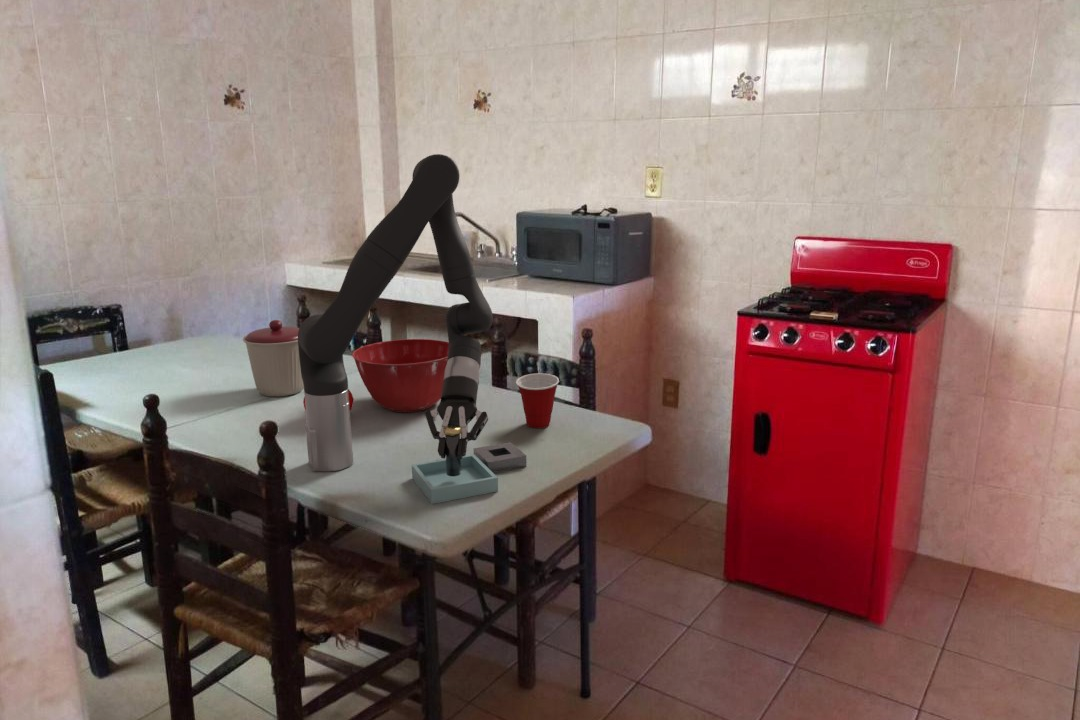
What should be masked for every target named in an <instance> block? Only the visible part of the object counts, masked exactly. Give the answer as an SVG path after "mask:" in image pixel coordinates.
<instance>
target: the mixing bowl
mask: <svg viewBox="0 0 1080 720" xmlns="http://www.w3.org/2000/svg"><path fill="white" fill-rule="evenodd" d="M448 352H449V341H445V340H439V339H428V338H426V339H425V338H408V339H407V338H406V339H393V340H385V341H379V342H375V343H369V344H366V345H363V346H362V347H359V348H357V349H355V350H354V351H353V352H352V355H351V356H352V358H353V359H354V362H355V366H356V367H357V371H358V373H359V376H360V379H361V380H362V383H363V384H364V386H365V388H366V389H367V391H368V393H369V395H370V396H371V398H372V399H373V400H374V402H376V403H377V404H378V405H379V406H381V407H383V408H385V409H386V410H389V411H392V412H396V413H397V412H398V413H412V412H419V411H420V412H421V411H423V410H428V409H429V408H432V407H433V406H434V405H435V404H437V403H438V402H440V401H441V393H442V386H443V379H444V372H445V368H446V365H447V359H448Z"/></svg>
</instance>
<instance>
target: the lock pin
mask: <svg viewBox="0 0 1080 720" xmlns="http://www.w3.org/2000/svg"><path fill="white" fill-rule="evenodd" d="M443 431H444V434H445V444H446V457H445V459H446V472H447V475H448V476H458V475H460V474H461V459H458V456H457V453H458V445H459V439H461V427H460V426H458V425H448V426H445V427H444V428H443Z"/></svg>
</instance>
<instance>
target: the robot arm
mask: <svg viewBox="0 0 1080 720" xmlns="http://www.w3.org/2000/svg"><path fill="white" fill-rule="evenodd" d="M459 183H460V169H459V167H458V165H457V163H456V161H455V160H454V159H453V158H452V157H450V156H448V155H445V154H441V153H440V154H438V153H437V154H431V155H427V156H426V157H424V158H423V159H421V160H420V161H419V162H417V164H415V166H414V168H413V171H412V180H411V182H410V184H409V185H408V187H407V189H406V190H405V191H404V194H403V195H402V197H401V199H400V200H399V201H398V202H397V204H396V205H394V207H393V208H392V209H391V210H390V211H389V212H388V213H387V214H386V215H385V217H383V219H381V220H380V221H379V222H378V224H377V225H376V226H375V227H374V229H372V231H371V232H370V233H369V235H368V236H367V237H366V239H365V240H364V241H363V243H362V244H361V246H360V247H359V248H358V250H357V251H356V253H355V255H354V256H353V258H352V259H351V262H350V264H349V266H348V269H347V271H346V274H345V276H344V279H343V282H342V284H341V287H340V290H339V291H338V292H337V294H336V296H335V297H334V299H333V301H332V302H331V303H330V305H329V306H328V307H327V309H326V310H325V311H324V313H323V314H322V313H321V314H313V315H310V316H308V317H306V318H305V319H304V321H302V322H301V324H300V326H299V327H298V328H299V331H298V349H299V359H300V368H301V376H302V380H303V385H304V388H303V394H304V396H305V407H306V410H305V417H306V421H305V433H306V436H305V437H306V446H307V458H308V464H309V466H310V469H311V470H312V472H334V471H341V470H343V469H344V470H345V469H346V468H348V467H350V466H352V465H353V463H354V451H353V439H352V438H353V437H352V425H351V423H352V421H351V410H350V407H349V392H348V389H349V380H348V376H347V375H348V374H347V372H346V368H345V364H344V354H345V353H346V351H347V349H348V348H349V346H350V344H351V342H352V341H353V338H354V337H355V335H356V333H357V331H358V329H359V327H360V325H361V323H362V322H363V320H364V319H365V317H366V316H367V314H368V312H369V311H370V309H372V307H373V306H374V304H375V303H376V302H377V301H378V300H379V298H380V296H382V293H384V291H385V290H386V288H387V286H388V285H389V284H390V282H392V280H393V279H394V278H395V276H396V275H397V273H398V272H399V270H400V269H401V267H402V266H403V265H404V263H405V262H406V260H407V259H408V256H409V255H410V254H411V252H412V250H413V248H414V247H415V245H416V243H417V242H418V240H419V239H420V237H421V235H422V233H423V231H424V229H425V227H426V226H427V224H428V223H429V227H430V230H431V233H432V234H431V235H432V237H433V241H434V246H435V249H436V253H437V259H438V261H439V265H440V270H441V275H442V279H443V282H444V287H445V290H446V291H447V293H449V294H451V295H458V296H463V297H464V298H465V299H466V300H467V301H468V302H462V303H457V304H452V305H451V306H450V307H448V309H447V311H446V312H445V317H444V320H445V326H446V331H447V338H448V342H449V352H448V359H447V365H446V368H445V372H444V379H443V386H442V393H441V399H440V400H439V404H438V405H437V406H436V409H433V410H429V409H425V411H424V416H425V418H426V421H427V424H428V427H429V431H430V433H431V436H432V437H433V439H434V440H438V446H437V453H438V455H439V456H440V458H441V459H442V460H443V459H446V444H445V434H444V431H443V428H444V427H445V426H448V425H458V426H460V427H461V434H460V439H459V445H458V453H457V456H458V459H462V458H463V456H466V455H467V448H468V442H470V441H477V439H478V437H479V436H480V434H481V433H482V432H483V429H484V427H485V426H486V424H487V423H488V421H489V416H488V414H487V413H488V412H486V411H481V410H478V408H477V400H478V399H477V398H478V391H479V384H480V363H481V353H482V344H481V342H480V341H479V340H478V339H477V338H475V337H473V336H470V335H471V334H476V333H483V332H487V331H488V330H490V329H491V327H492V325H493V321H494V319H493V318H494V315H493V311H492V308H491V307H490V304H489V303H488V301H487V299H486V297H485V295H484V293H483V291H482V289H481V286H480V284H479V283H478V280H477V278H476V275H475V274H476V273H475V269H474V265H473V260H472V257H471V254H470V251H469V248H468V244H467V242H466V240H465V238H464V237H465V236H464V235H463V233H462V231H461V228H460V225H459V222H458V218H457V213H456V210H455V206H454V197H453V196H454V195H453V194H454V192H455V191H456V190H457V188H458V185H459ZM438 416H439V417H440V418H441V421H442V423H441V427H440V431H438V429H437V426H436V424H435V422H436V421H437V420H438V418H437V417H438ZM474 418H475V420H476V421H475V422H474V425H473V426H472V428H471V429H470V431H469V427H468V425H469V424H470V423H471V421H472V420H473V419H474Z"/></svg>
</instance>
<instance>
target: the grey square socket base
mask: <svg viewBox="0 0 1080 720" xmlns="http://www.w3.org/2000/svg"><path fill="white" fill-rule="evenodd" d="M473 454H474V455H475V456H476V457H477V458H478V459H479V460H480V461H481V462H482V463H483V464H485V465H486V466H487V467H488V468H489V469H490V470H491V471H492V472H493V473H497V472H502V471H508V470H513V469H518V468H524V467H527V454H525V453H524V452H523V451H521V450H520V449H519V448H518V447H517V446H516V445H515V444H513V443H512V442H509V441H508V442H504V443H498V444H497V443H496V444H492V445H486V446H480V447H474V448H473Z"/></svg>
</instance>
